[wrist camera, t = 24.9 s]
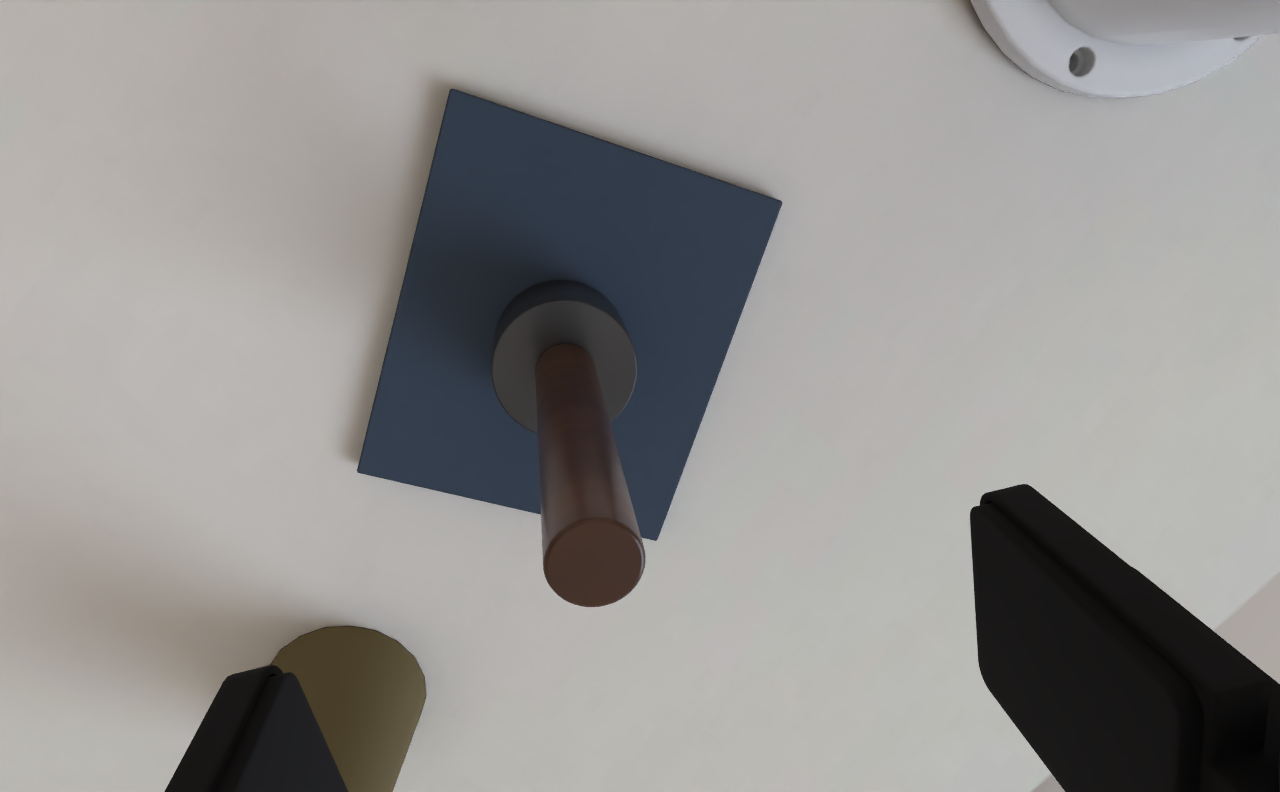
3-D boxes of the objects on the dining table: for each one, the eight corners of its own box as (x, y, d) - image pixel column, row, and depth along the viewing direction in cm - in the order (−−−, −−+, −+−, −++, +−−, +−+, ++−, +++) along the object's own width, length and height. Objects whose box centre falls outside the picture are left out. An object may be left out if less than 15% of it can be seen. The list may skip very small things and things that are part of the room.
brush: (478, 296, 26) (435, 485, 13) (610, 266, 27) (694, 421, 14) (513, 418, 28) (504, 695, 15) (637, 388, 28) (736, 635, 15)
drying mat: (451, 88, 25) (450, 88, 24) (778, 199, 27) (783, 201, 27) (359, 465, 28) (356, 473, 28) (654, 533, 31) (657, 541, 30)
